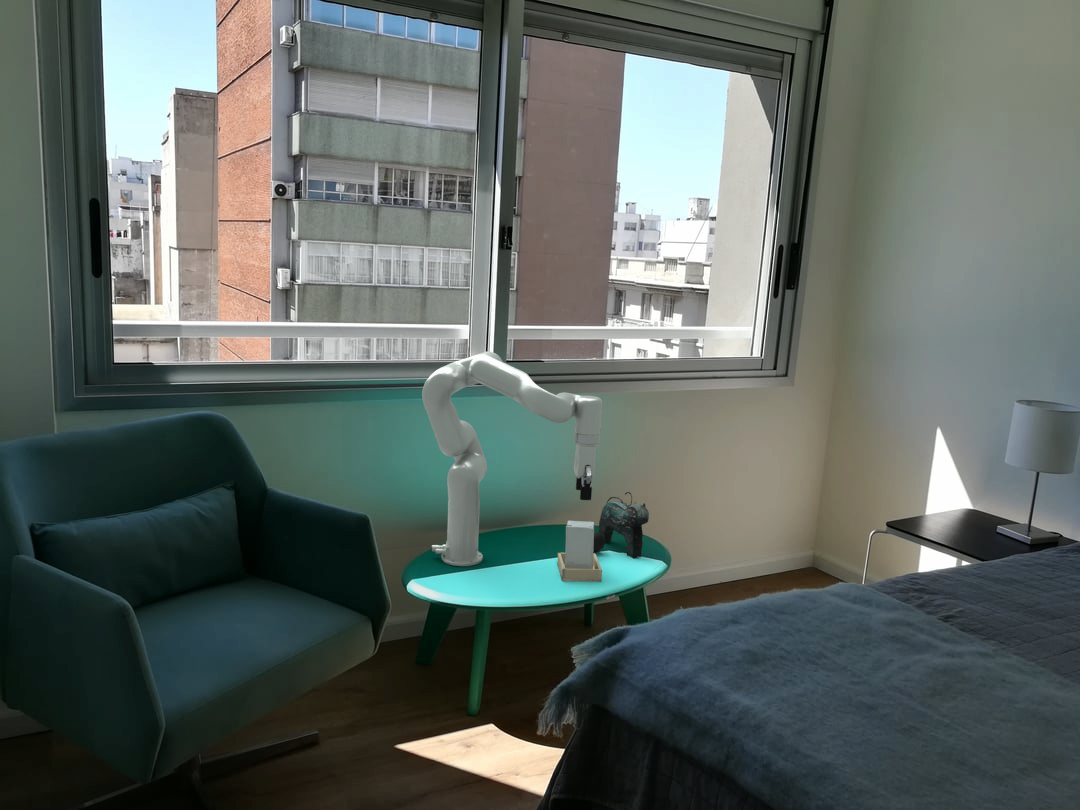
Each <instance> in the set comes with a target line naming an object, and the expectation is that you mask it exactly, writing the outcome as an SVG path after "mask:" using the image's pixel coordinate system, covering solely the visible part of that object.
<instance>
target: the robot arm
mask: <svg viewBox="0 0 1080 810" xmlns="http://www.w3.org/2000/svg"><path fill="white" fill-rule="evenodd" d="M478 384H480V385H483V386H485V387H487V388H489V389H492V390H493V391H495V392H497V393H500V394H502V395H504V396H506V397H508V398H510V399H512V400H513V401H515V402H516V403H518V404H519V405H521V406H522V407H524V408H525V409H526V410H527V411H529V412H531V413H533V414H535V415H537V416H539V417H541V418H543V419H545V420H548V421H549V422H553V423H555V424H565V423H567V422H568V421H570V420H571V418H575V423H574V436H573V439H574V440H573V444H575V445H576V446H575V452H574V453H575V454H574V464H573V472H574V475H575V477H576V478H575V479H576V480H575V490H576V491H579V493H580V495H579V500H581V501H591V500H592V492H593V481H592V479H594V477H595V468H596V455H597V454H596V447H598V446H599V445H600V443H601V431H602V428H601V427H602V416H603V415H602V414H603V400H602V399H601V398H600V397H599V396H594V395H579V394H575V393H570V392H566V391H564V392H559V393H557V394H554V393H552V392H549V391H548V390H546V389H544V388H542V387H540V386H539V385H537V384H536V383H535V382H534V381H533V380H532V378H531V376H529V374H528V373H526V372H524V371H523V370H521V369H518V368H516V367H514V366H512V365H510V364H508V363H505V362H504V361H503V360H502V358H501V356H499V354H497V353H495V352H492V351H484V352H480V353H477V354H475V355H473V356H470V357H466V358H463V359H460V360H457V361H454V362H451V363H448V364H446V365H444V366H441V367H440V368H438V369H436V370H435V371H434V372H433V373H431V374H430V376H428V378H427V379H426V381H425V382H424V385H423V387H422V391H421V397H422V399H421V400H422V403H423V406H424V409H425V411H426V414H427V417H428V419H429V422H430V426H431V428H432V431H433V434H434V436H435V440H436V443H437V446H438V448H439V450H440V452H441V453H442V454H443V455H445V456H446V457H449V458H453V459H454V463H453V464H452V465H451V466H450V468H449V469H448V472H447V478H446V483H447V484H446V485H447V497H448V498H447V502H448V503H447V531H446V533H447V534H446V535H447V536H446V539H447V540H446V541H445V543H444V544H442V545H440V544H439V545H438V544H432V545H431V551H432V552H435V554H441V560H442V562H443V563H445V564H447V565H451V566H453V567H454V566H455V567H456V566H457V567H471V566H474V565H475V566H476V565H478V564H480V563H481V562H482V561H483V559H484V557H483V554H482V552H480V551H479V533H480V532H479V531H480V506H481V503H480V499H481V498H480V483H481V482H482V480H483V479H484V478H485V476H486V475H487V471H488V463H487V459H486V457H485V454H484V451H483V448H482V445H481V442H480V441H479V438H478V435H477V432H476V431H475V429H474V427H473V425H472V424H471V423H469V422H467V421H465V420H462V419H460V417H459V415H458V410H457V408H456V407H455V405H454V403H453V402H452V395H454V394H455V393H457V392H459V391H460V390H462V389H465V388H467V387H471V386H473V385H478Z"/></svg>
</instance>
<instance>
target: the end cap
mask: <svg viewBox="0 0 1080 810" xmlns="http://www.w3.org/2000/svg"><path fill="white" fill-rule="evenodd" d="M604 547H605V544H604V538H603V536H602V534H601V533H600V532H599V531H596V532H595V531H594V545H593V553H595V554H596V553H599V552H601V551H602V550H603V549H604Z"/></svg>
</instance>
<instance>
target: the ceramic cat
mask: <svg viewBox="0 0 1080 810" xmlns="http://www.w3.org/2000/svg"><path fill="white" fill-rule="evenodd" d="M627 494H629V495H630V499H631V500H630V504H628V503H626V502H624V500H623V499H621V498H620V497H617V496H611V497H609V498H608V499H607V501H606V503H605V504H604V506H603V507H602V510H601V513H600V518H599V523H598V532H600V533H601V534H602V536H603V538H604V545H607V544H606V543H608V544H610V543H611V540H612V537H613V533H614V531H615V533H618V534H620V535H622V536H623V538H624V540H625V543H626V556H628V557H630V558H632V559H638V558H641V557H642V552H643V551H642V549H643V545H644V544H643V543H644V542H643V535H644V533H643V525H645V524H648V522H649V519H650V518H649V517H650V513H649V512H650V511H649V510H648V509H647V507H646V503H645V502H644V503H641V504H638V503H637V501H636V500H635V501H634V502H633V496H632V495H633V494H632V493H631V492H630V491H627V492H625V493H624V496H626V495H627ZM612 499H617V500H619V501H617V500H616V501H615V500H614V501H611V500H612ZM632 503H633V504H632Z"/></svg>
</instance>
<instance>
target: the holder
mask: <svg viewBox="0 0 1080 810" xmlns="http://www.w3.org/2000/svg"><path fill="white" fill-rule="evenodd" d="M556 563H557V567H558V568H557V569H558V572H559V575H560V578H561V581H562V582H591V583H592V582H596V583H598V582H599V583H600V582H602V577H603V569H602V567H601V563H600V561H599V559H598V557H597V554H596V552H595V553H593V569H569V568H565V552H557V561H556Z"/></svg>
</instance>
